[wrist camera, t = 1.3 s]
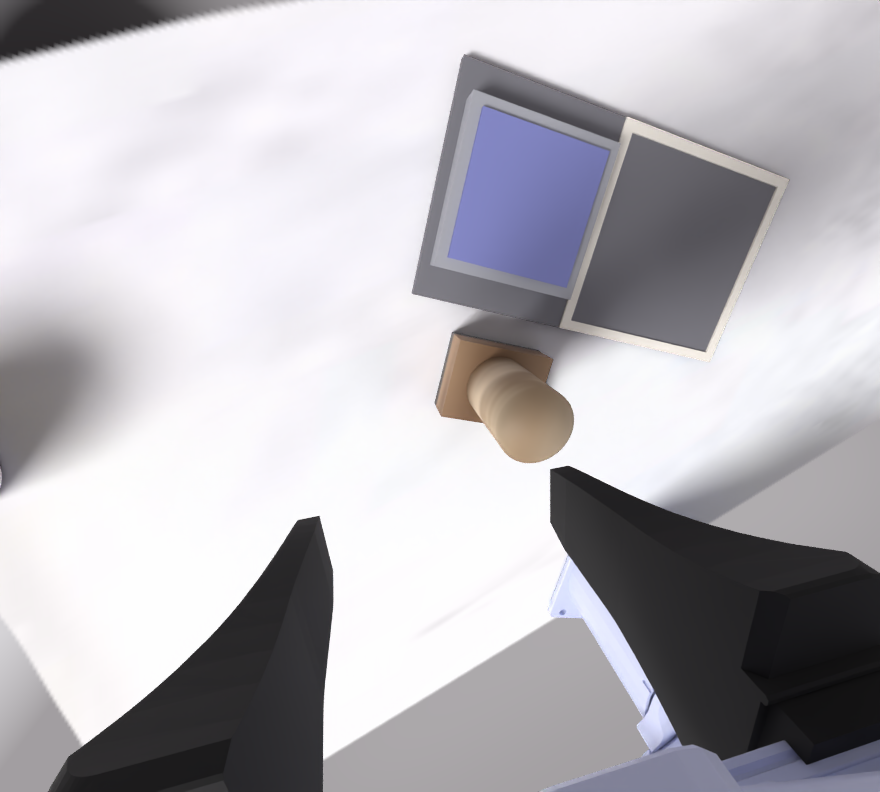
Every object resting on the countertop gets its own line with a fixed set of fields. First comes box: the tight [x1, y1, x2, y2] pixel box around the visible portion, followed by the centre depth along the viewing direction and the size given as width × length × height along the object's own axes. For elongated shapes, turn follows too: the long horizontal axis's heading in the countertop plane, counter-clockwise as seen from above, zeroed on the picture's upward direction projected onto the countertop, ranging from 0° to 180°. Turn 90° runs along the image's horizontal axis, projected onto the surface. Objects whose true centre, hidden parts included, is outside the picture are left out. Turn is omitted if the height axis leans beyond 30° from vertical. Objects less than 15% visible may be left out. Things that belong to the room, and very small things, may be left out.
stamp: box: [435, 332, 574, 463], centre depth 20 cm, size 5×4×7 cm
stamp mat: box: [412, 54, 790, 362], centre depth 21 cm, size 18×10×2 cm, turn 77°
